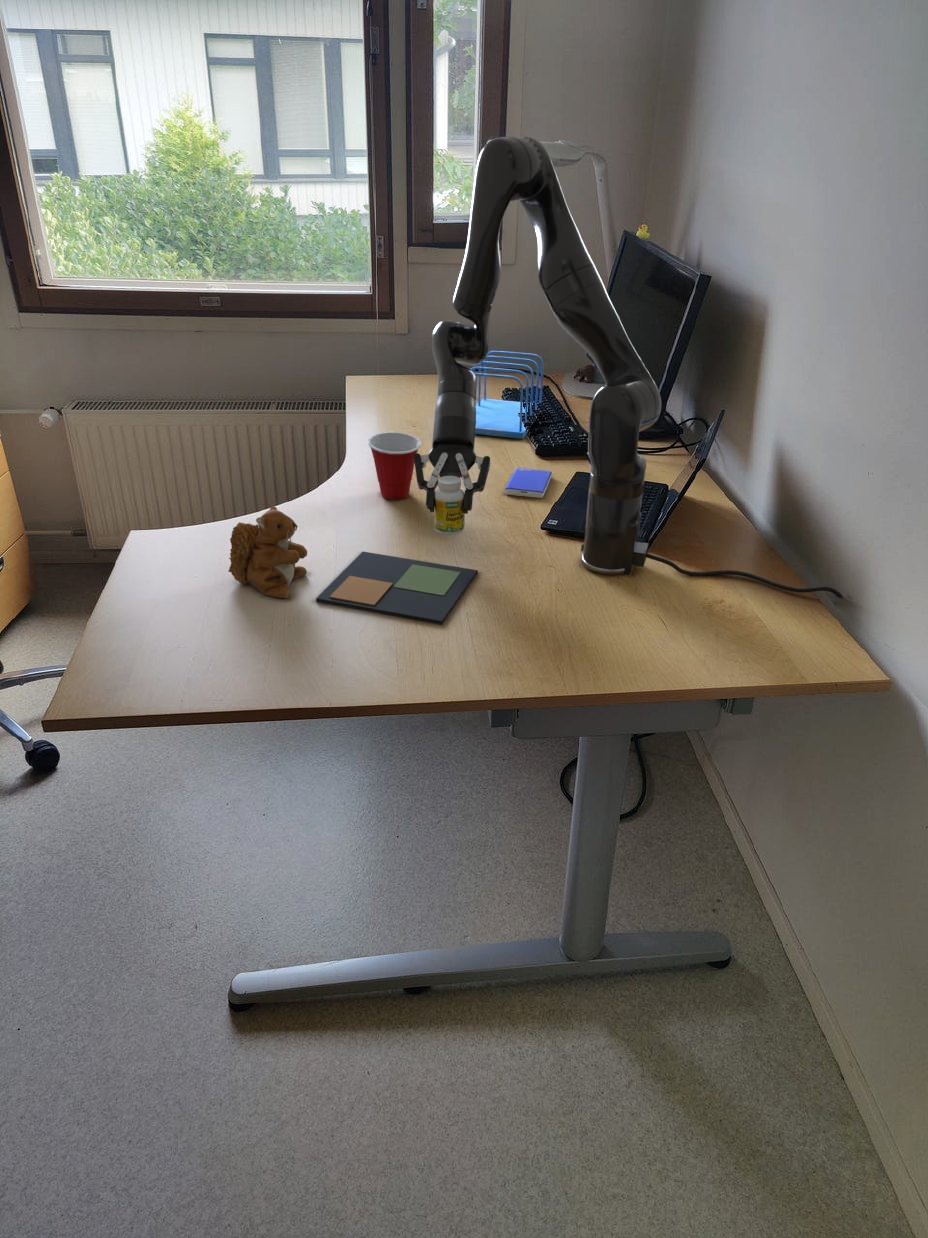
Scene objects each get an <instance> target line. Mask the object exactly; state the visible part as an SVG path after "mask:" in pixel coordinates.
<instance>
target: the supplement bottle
mask: <svg viewBox="0 0 928 1238" xmlns="http://www.w3.org/2000/svg"><path fill="white" fill-rule="evenodd" d="M461 487H462V479H461V477H460V478H459V477H456V476H443V477H440V478H439V479H438V486H437V488H438V489H436V490H435V495H434V500H435V507H434V529H435V531H436V532H437V533H438V534H440V535H443V536H456V535H459V534H461V533H463V532H464V530H465V526H466V524H465V523H466V522H465V520H466V518H465V515H466V514H464V494H465V491H464V490H463V489H462V488H461Z"/></svg>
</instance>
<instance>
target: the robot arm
mask: <svg viewBox="0 0 928 1238" xmlns="http://www.w3.org/2000/svg"><path fill="white" fill-rule="evenodd" d="M472 189H473V190H472V199H471V205H470V206H471V208H470V214H469V223H468V232H467V239H466V246H465V251H464V257H463V261H462V264H461V269H460V271H459V276H458V278H457V283H456V287H455V291H454V293H453V297H452V308H453V310H454V311H455V312H456V313H457V314H458V315H459V316H461V317H463V318H465V319H466V320H469V321H470V322H472V323H473V324H468V323H463V322H459V321H454V320H450V319H445V320H441V321H439V322H438V323H437V324H436V326H435V327H434V329H433V330H432V334H431V348H432V355H433V358H434V362H435V366H436V372H437V380H438V382H437V394H436V396H437V397H436V404H435V409H434V416H433V417H434V419H433V429H432V445H431V449H430V450H429V453H428V454H422V455H421V454H420V453H419V452H417V453H416V454H415V455H414V462H415V463H414V469H415V476H416V482H417V483H416V484H417V488H418V489H419V490H420V491H421V490H423V491H426V495H425V506H426V509H427V510H429V513H435V500H434V495H435V492H436V490H437V488H438V479H439V478H440V477H443V476H456V477H459V478H460V479H461V482H462V483H463V485H464V488H465V489H464V514H465V515H468V514H469V512H471V511H472V510H473V500H474V494H475V493H481V492H484V490H485V487H486V482H487V479H488V475H489V472H490V468H491V457H490V456H489V455H484V456H478V455H477V454H476V452H475V442H476V441H475V440H476V434H475V426H476V405H477V404H476V401H477V386H478V385H477V383H478V378H477V376H476V375H475V373H476V372H475V373H474V372H473V370H470V369H471V368H468V367H467V366H465V365H468V366H475V365H477V366H479V365H478V364H480V363H481V362H482V361H485V358H486V356H487V354H488V353H489V347H490V345H489V341H490V340H489V339H490V338H489V336H490V335H489V329H490V327H489V325H490V318H491V311H492V308H493V303H494V301H495V297H496V295H497V291H498V288H499V284H500V281H501V275H502V256H501V249H500V231H501V226H502V222H503V219H504V217H505V214H506V211H507V209H508V207H509V205H510V203H511V202H513V201H519V202H520V203H521V205H522V207H523V209H524V210H525V213H526V214H527V217H528V218H529V221H530V223H531V225H532V228H533V231H534V234H535V238H536V261H537V263H536V264H537V278H538V283H539V285H540V286H539V287H540V288H541V291H542V294H543V295H544V298H545V301H546V303H547V304H548V306H549V309H550V310H551V312H552V314H553V316H554V318H555V319H556V321H557V323H558V324H559V326H560V327H561V328H562V329H563V331H565V332H566V333H567V334H568V335H569V337H570V338H572V339H573V340H574V341H575V342H576V343H577V344H578V345H579V346H580V347H581V348H582V349H583V350H584V351H585V352H586V353H587V354H588V355H589V356H590V358H591V360H592V361H593V362H594V363H595V365H596V367H597V368H598V371H599V372H600V374H601V376H602V378H603V381H604V383H605V384H604V385H602V386H601V387H599V389H598V390H597V391H596V392H595V393H594V396H593V398H592V400H591V403H590V408H589V417H588V436H587V437H588V438H587V454H588V455H587V456H588V459H589V461H590V474H589V485H588V495H587V505H586V506H587V507H586V514H585V515H586V517H585V525H584V526H585V527H584V537H583V544H581V547H580V553H582V555H581V564H582V566H583V567H584V568H586V569H587V570H589V571H590V572H593V573H596V574H601V575H608V576H618V575H631V574H632V572H633V570H634V568H635V566H636V567H642V568H644V567H645V563H646V561H647V559H650V560H654V561H656V562H660V563H662V564H664V565H667V566H669V567H671V568H673V569H674V570H675V571H677V572H679V573H680V574H682V575H686V576H691V577H708V576H719V575H721V576H722V575H732V576H741V577H746V578H749V579H752V580H756V581H758V582H762V583H763V584H767V585H769V586H771V587H774V588H777V589H781V590H784V591H788V592H793V593H801V594H802V593H803V594H804V593H813V592H830V593H832V594H834V595H835V596H836V597H837V598H841V599H842V598H843V597H844V596H843V595H842V593H841V592H840V591H838V590H837V589H835V588H833V587H831V586H825V585H824V586H821V585H820V586H812V587H794V586H789V585H785V584H781V583H779V582H775V581H773V580H770V579H768V578H765V577H762V576H760V575H756V574H753V573H749V572H745V571H740V570H733V569H720V570H710V571H692V570H687V569H683V568H681V567H680V566H678V565H677V564H675V563H674V562H673V561H671V560H668V559H666V558H664V557H660V556H657V555H653V554H651V553H649V545H650V543H647V542H641V541H639V537H640V529H641V523H642V516H643V515H642V512H641V511H642V510H641V509H642V503H643V502H642V501H643V495H644V486H645V479H646V478H645V477H646V470H647V461H646V458H645V457H644V456H643V455H641V454H639V453H638V451H639V450H638V449H639V436H640V432H642V431H644V430H647V429H649V428H651V427H652V426H653V425H655V423H657V421H658V420H659V418H660V416H661V412H662V397H661V394H660V393H661V392H660V391H659V389H658V386H657V384H656V382H655V380H654V379H653V377H652V376H651V373H650V372H649V371H648V369H647V367H646V365H645V364H644V362H643V360H642V359H641V357H640V356H639V354H638V352H637V350H636V349H635V347H634V346H633V344H632V342H631V339H630V338H629V336H628V334H627V332H626V330H625V328H624V325H623V324H622V321H621V319H620V316H619V315H618V313H617V311H616V309H615V306H614V305H613V302H612V301H611V298H610V297H609V294H608V292H607V288H606V286H605V284H604V281H603V280H602V278H601V276H600V274H599V273H600V272H599V271H598V269H597V267H596V265H595V263H594V260H593V259H592V257H591V255H590V253H589V251H588V249H587V247H586V245H585V243H584V240H583V238H582V236H581V234H580V231H579V229H578V227H577V225H576V223H575V221H574V218H573V216H572V214H571V211H570V209H569V207H568V204H567V201H566V198H565V196H564V192H563V190H562V187H561V184H560V181H559V178H558V176H557V172H556V170H555V167H554V164H553V162H552V159H551V157H550V154H549V152H548V150H547V149H546V147H545V146H544V144H543V143H542V142H541V140H539V139H537V138H535V137H534V136H531V135H516V136H515V135H514V136H513V135H512V136H511V135H510V136H501V137H495V138H493V139H491V140H489V141H488V142H487V143H485V145H484V146H483V147H482V149H481V151H480V152H479V155H478V159H477V164H476V167H475V173H474V182H473V188H472ZM428 463H430V464H431V465H432V467H433V470H432V472H431V475H430V477H429V480H425V476H424V469H425V468H426V467H427V464H428ZM475 464H476V465H477V469H478V470H479V473H478V476H477V480H476V482H472V481H473V480H472V479H471V476H470V473H469V471H470V469H472V467H473V466H474V465H475Z"/></svg>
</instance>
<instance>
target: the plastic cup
mask: <svg viewBox="0 0 928 1238" xmlns="http://www.w3.org/2000/svg"><path fill="white" fill-rule="evenodd" d="M367 441H368V446H369V448H370V449H371V453H372V457H373V462H374V467H375V472H376V477H377V481H378V485H379V491H380V494H381V497H383V498H384V499H386V500H395V501H396V500H403V499H405V498H408V496H409V494H410V489H411V484H412V480H413V479H412V478H413V476H414V475H413V474H414V469H415V462H414V455H415V454H416V453H419V452H418V451H419V449H420V448H421V446H422V443H421V440H420V439H419V438H418V437H417V436H414V435H412V434H410V433H405V432H399V431H385V432H378V433H375V434H373V435H371V436H370V437H369V438H368V439H367Z"/></svg>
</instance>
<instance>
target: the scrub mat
mask: <svg viewBox="0 0 928 1238" xmlns="http://www.w3.org/2000/svg"><path fill="white" fill-rule="evenodd" d="M478 573H479V572H478V569H473V568H467V567H461V566H460V567H459V566H455V565H454V566H453V565H446V564H442V563H437V562H429V561H425V560H424V561H423V560H417V559H411V558H404V557H399V556H392V555H387V554H382V553H381V554H380V553H375V552H367V551H361V553H359V554H358V555H357V556H356V557H355V558H354V559H353V560H352V562H351V563H349V564H348V566H347V567H345V569H344V570H342V571H341V572H340V574H339V575H337V577H336V578H335V579H334V580H333V581H331V583H330V584H329V585H328V586H327V587H326V588H325V589H323V590H322V592H321V593H320V594H318V596H317V597H316V599H315V602H317V603H323V604H327V605H333V606H339V607H344V608H349V609H356V610H361V611H368V612H372V613H378V614H384V615H387V616H388V615H389V616H395V617H401V618H405V619H410V620H417V621H422V622H427V623H433V624H439V625H443V623H444V622H445V621H446V619H447V618H448V616H449V615H450V613H451V612H452V611H453V609H454V608H455V606H456V605H457V603H458V602H459V600H460V599H461V598H462V596H463V595H464V594H465V592H466V591H467V589H468V588H469V586H470V585H471V584H472V582H473V580H474V579H475V577H477V575H478Z"/></svg>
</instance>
